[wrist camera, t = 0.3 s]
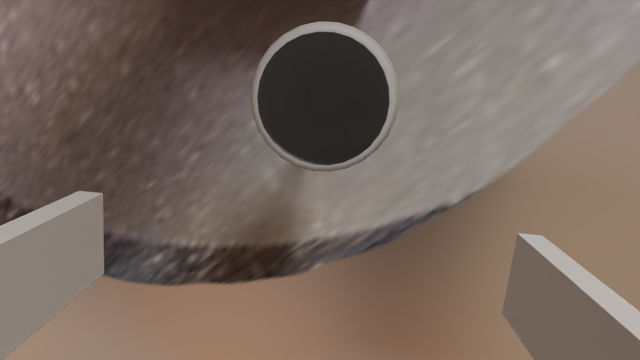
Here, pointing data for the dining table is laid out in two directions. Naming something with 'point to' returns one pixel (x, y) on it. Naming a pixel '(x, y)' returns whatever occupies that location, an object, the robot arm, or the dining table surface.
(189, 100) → the dining table surface
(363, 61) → the wineglass
